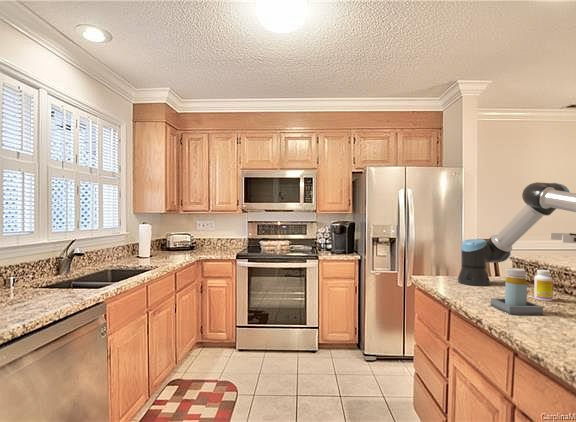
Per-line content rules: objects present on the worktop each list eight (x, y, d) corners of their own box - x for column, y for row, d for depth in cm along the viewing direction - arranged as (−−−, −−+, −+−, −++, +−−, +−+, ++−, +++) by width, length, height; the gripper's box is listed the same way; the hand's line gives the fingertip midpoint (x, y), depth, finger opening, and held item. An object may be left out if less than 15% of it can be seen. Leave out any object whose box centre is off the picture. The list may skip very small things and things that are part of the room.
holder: (490, 305, 144) (490, 298, 144) (521, 305, 144) (521, 298, 144) (509, 314, 131) (509, 306, 131) (542, 315, 131) (542, 307, 131)
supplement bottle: (556, 302, 150) (556, 272, 150) (538, 301, 152) (539, 271, 152) (547, 298, 157) (548, 269, 157) (531, 297, 158) (531, 268, 158)
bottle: (507, 304, 143) (508, 267, 143) (528, 307, 138) (528, 269, 138) (503, 307, 138) (503, 269, 138) (524, 311, 133) (524, 271, 133)
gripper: (643, 254, 121) (568, 250, 128) (607, 246, 144) (545, 243, 151) (643, 232, 120) (568, 230, 128) (608, 228, 144) (546, 226, 151)
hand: (556, 237), depth 140 cm, fingers open, 13 cm apart
